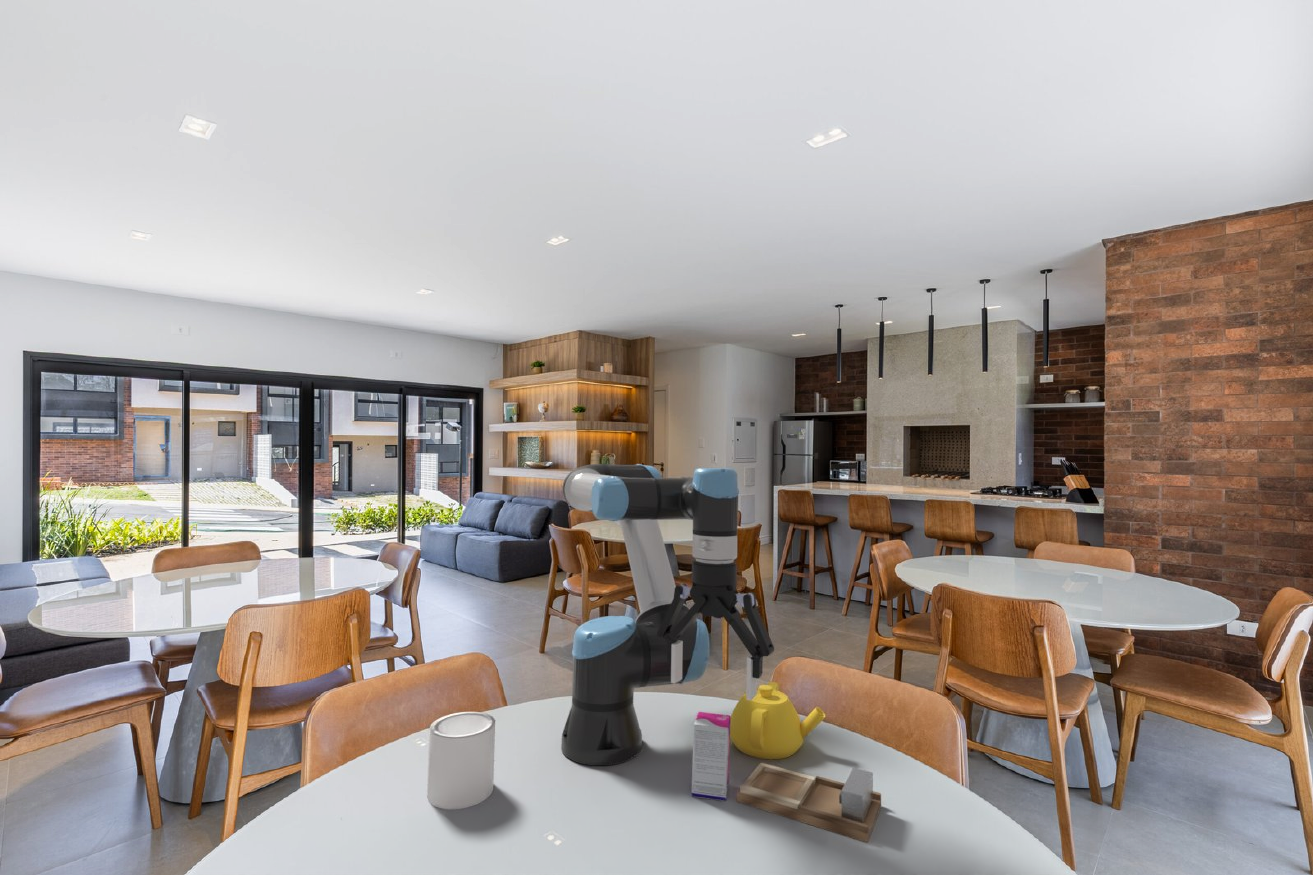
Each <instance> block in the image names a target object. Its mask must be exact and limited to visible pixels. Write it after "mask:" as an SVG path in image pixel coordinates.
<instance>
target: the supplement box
mask: <svg viewBox="0 0 1313 875" xmlns="http://www.w3.org/2000/svg"><path fill="white" fill-rule="evenodd" d="M730 723H731V715H730V714H721V713H720V714H719V713H713V712H705V711H704V712H703V711H698V712H697V714H696V717H695V720H694V722H693V742H692V743H693V746H692V768H691V770H692V771H691V772H692V774H691V794H690V796H691V797H693V798H700V799H708V800H714V801H715V800H716V801H722V802H723V801H726V800H727V792H728V786H729V781H730V780H729V778H730V777H729V775H730V753H731V752H730V751H731V750H730V748H731V739H730Z"/></svg>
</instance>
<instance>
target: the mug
mask: <svg viewBox="0 0 1313 875" xmlns="http://www.w3.org/2000/svg"><path fill="white" fill-rule="evenodd" d="M495 737H496V719H495V718H494V716H492V715H490V714H488V713H485V712H481V711H462V712H461V711H460V712H455V713H451V714H446V715H443V716H441V717H439V718H437V719H436V720H434V721H433V722H432V723H431V724H430V726H429V730H428V759H427V760H428V761H427V762H428V763H427V764H428V765H427V784H426V785H427V789H426V790H427V791H426V793H427V794H426V798H427V801H428V803H429V804H430V805H431V806H433V807H436V808H438V809H442V810H461V809H465V808H471V807H473V806H475V805H478V804H480V803H483V802H484V801H485V800H487V799H488V798H490V795H491V794H493V791H494V775H495V774H494V772H495V748H496V746H495V741H496V740H495V739H496V738H495Z"/></svg>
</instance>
